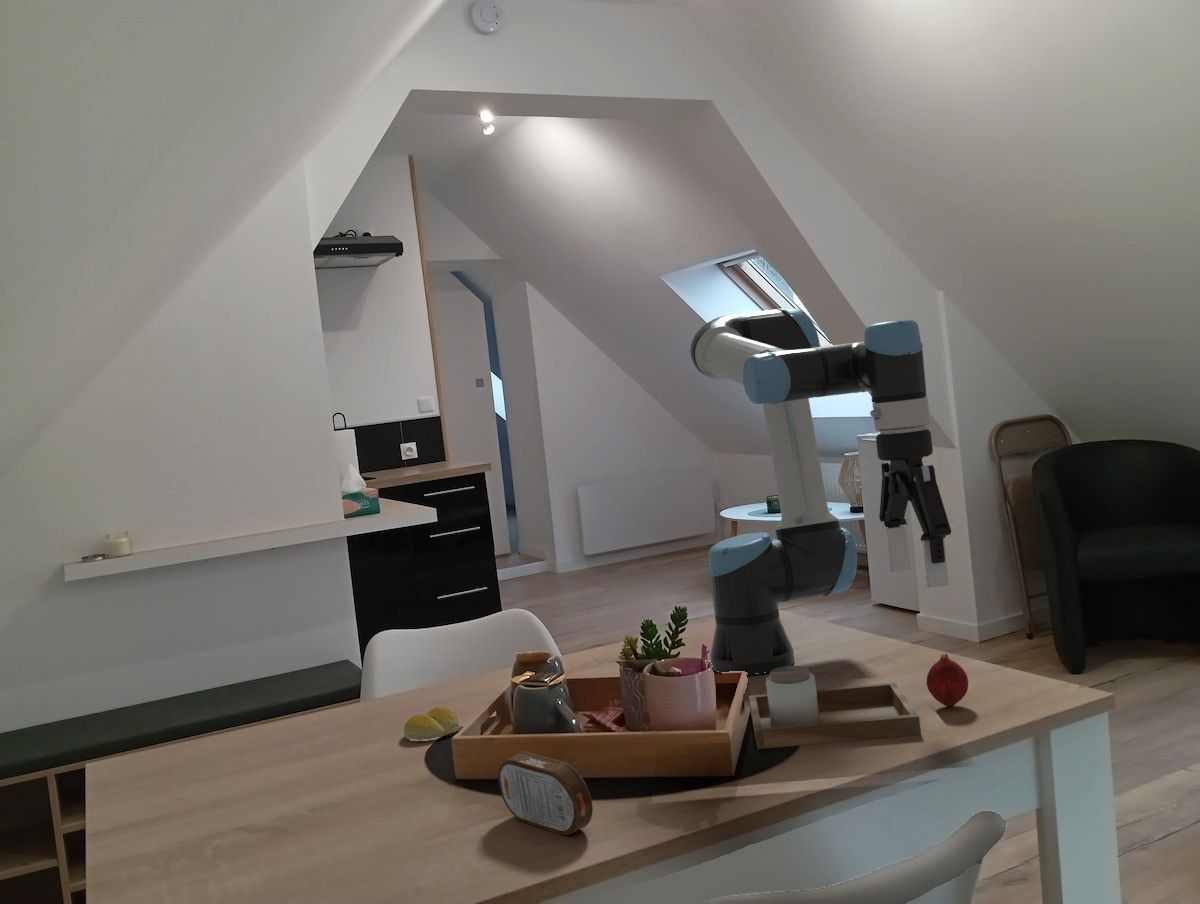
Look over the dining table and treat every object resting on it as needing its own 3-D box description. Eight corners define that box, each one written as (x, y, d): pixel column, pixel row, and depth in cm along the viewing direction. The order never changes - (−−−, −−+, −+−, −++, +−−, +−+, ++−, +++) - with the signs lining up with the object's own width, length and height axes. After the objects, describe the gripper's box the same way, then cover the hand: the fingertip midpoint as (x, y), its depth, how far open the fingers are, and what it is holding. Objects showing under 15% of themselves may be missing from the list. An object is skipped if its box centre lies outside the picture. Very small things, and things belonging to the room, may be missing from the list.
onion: (976, 710, 144) (970, 656, 143) (936, 715, 144) (930, 661, 143) (963, 698, 149) (957, 646, 149) (924, 703, 150) (918, 651, 149)
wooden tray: (751, 718, 152) (748, 695, 152) (897, 705, 150) (895, 682, 150) (758, 755, 136) (755, 730, 136) (921, 741, 134) (919, 716, 134)
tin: (598, 834, 118) (589, 765, 118) (579, 845, 116) (570, 774, 115) (517, 808, 129) (509, 744, 128) (498, 817, 127) (490, 752, 126)
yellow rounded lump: (397, 737, 165) (394, 714, 165) (447, 722, 170) (444, 699, 170) (417, 748, 158) (413, 723, 158) (468, 732, 163) (465, 708, 163)
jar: (769, 719, 148) (763, 666, 147) (816, 715, 147) (810, 662, 147) (773, 735, 141) (766, 680, 140) (823, 731, 140) (816, 675, 140)
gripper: (848, 431, 153) (863, 567, 154) (910, 435, 128) (928, 597, 129) (896, 425, 154) (910, 561, 155) (966, 428, 129) (983, 589, 130)
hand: (918, 578), depth 142 cm, fingers open, 13 cm apart
